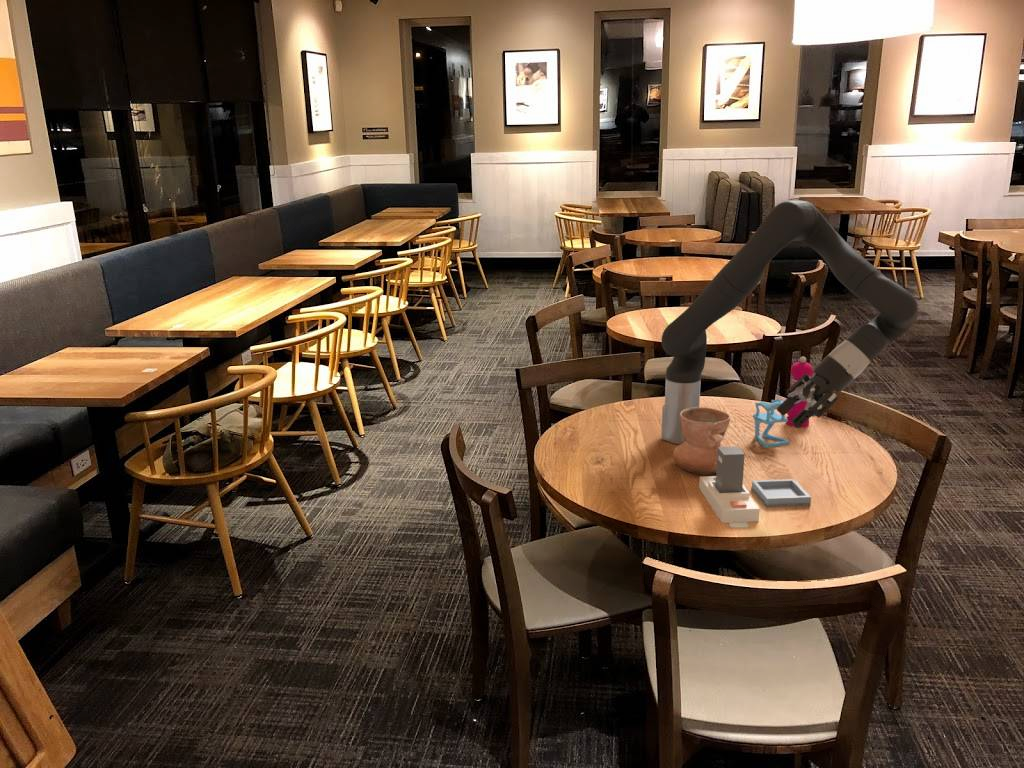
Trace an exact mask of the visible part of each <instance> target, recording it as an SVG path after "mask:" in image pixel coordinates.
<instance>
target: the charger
mask: <svg viewBox="0 0 1024 768" xmlns="http://www.w3.org/2000/svg"><path fill="white" fill-rule="evenodd" d="M745 456H746V455H745V453H744V452H743V450H742V449H741V448H740V447H739V446H737V445H735V446H725V447H718V451H717V468H716V473H715V476H716V485H715V488H716V489H717V490H718V492H719V493H737V492H742V485H744V484H743V482H744V468H745Z"/></svg>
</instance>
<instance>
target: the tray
mask: <svg viewBox="0 0 1024 768" xmlns="http://www.w3.org/2000/svg"><path fill="white" fill-rule="evenodd" d="M751 490H752V491H753V492H754V494H756V496H757V497H758V499H760V501H761V502H762V504H764V506H765V507H766V508H773V507H774V508H775V507H776V508H777V507H795V506H797V507H800V506H801V507H802V506H811V503H812V496H811V495H810V494H809V493H808V492H807V491H806V490H805V489H804V487H803V486H801V485H800V484H799V482H797V480H796V479H794V478H786V479H783V478H782V479H763V480H758V479H757V480H752V481H751Z"/></svg>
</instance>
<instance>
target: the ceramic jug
mask: <svg viewBox="0 0 1024 768" xmlns="http://www.w3.org/2000/svg"><path fill="white" fill-rule="evenodd" d="M680 421H681V426H682V432H683V438H684V443H682V444H678V445H677V446H676V447H675V449H674V450H673V453H672V457H673V458H672V459H673V460H674V462H675V464H676V465H677V466H679V468H681V469H683V470H684V471H687V472H691V473H695V474H703V475H710V474H716V468H717V451H718V447H726V446H725V445H723V444H722V443H721V442H722V441H723V440H724V439H725V438H724V437H725V435H726V432H727V431H728V428H729V425H730V423H731V422H730V421H731V416H730V414H729V413H727V412H726V411H724V410H723V411H722V410H719V409H716V408H711V407H710V408H709V407H705V406H704V407H703V406H699V407H692V408H688V409H684V410H682V411H681V412H680Z"/></svg>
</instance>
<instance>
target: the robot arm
mask: <svg viewBox="0 0 1024 768" xmlns="http://www.w3.org/2000/svg"><path fill="white" fill-rule="evenodd" d="M798 241H799V242H801V243H802V244H805V245H807V246H808V247H809V248H811V249H812V250H814V251H815V252H816V253H817V254H818V255H820V257H822V259H823V260H824V262H825V263H826V265H827V266H828V268H829V269H830V271H831V272H832V274H833V275H834V277H835V278H836V279H837V280H838V281H839V282H840V283H841V285H843V286H844V287H845V288H846V289H847V290H848V291H850V293H852V294H853V295H855V296H856V298H858V299H859V300H860V301H863V302H867V303H868V304H870V305H871V306H872V307H873V308H874V309H875V310H877V312H878V314H876V316H874V318H872V319H871V320H870V321H869V322H868V323H863V324H862V325H860V326H859V327H857V328H856V329H855V330H854V331H853V332H852V333H851V334H850V335H849V336H848V337H847V338H846V339H845V340H844V341H842V342H841V343H840V344H837V346H835V348H834V349H832V350H831V352H829V354H827V355H825V357H824V358H823V359H822V360H821V361H820V362H818V364H817V365H816V366H814V367H813V373H815V375H814V376H813V377H809V376H808V375H807V374H805V375H804V376H802V377H801V378H800V379H799V380H798V381H797V382H796V383H795V384H794V385H793V384H792V385H791V386H790V387H789V388H787V391H786V393H787V398H786V399H785V400H783V403H782V404H781V405H780V406H779V407H778V408H777V409H776V411H777V412H778V414H779V415H781V414H782V415H785V416H786V415H787V412H788V411H789V410H790V409H791V408H792V407H794V406H795V404H796V403H798V402H801V401H807V405H806V407H805V410H804V409H803V410H802V411H801V412H800V413H799V414H798V415H797V416H796V417H794V418H793V419H792V421H791V422H792V423H793V424H794V425H795V426H796V427H797V428H796V427H795V428H796V429H799V428H800V427H801V426H802V425H803V424H804V423H805V422H806V421H807V420H808V419H809V420H810V418H814V417H817V418H821V417H822V416H823V415H824V414H825V413H826V412H828V410H829V409H830V408H831V407H832V406H833V405H834V404H835V403H836V402H837V401H838V400H839V396H838V395H837V394H838V393H842V392H843V390H844V389H846V388H847V387H848V386H849V385H850V384H851V383H853V381H854V380H855V379H857V377H858V376H859V375H860V374H862V372H863V371H864V370H865V369H866V368H867V367H868V365H869V364H870V363H871V362H872V361H873V360H875V358H877V357H878V355H880V354H881V353H882V352H883V351H884V349H885V348H886V347H887V346H889V345H890V344H892V343H893V342H894V341H896V340H897V339H899V338H900V337H901V336H903V335H904V334H905V333H907V331H908V330H910V329H911V328H912V326H913V325H914V324H915V323H916V321H917V318H918V314H919V313H918V311H919V310H918V307H919V305H918V302H917V299H916V298H915V297H914V296H913V294H912V293H910V292H909V291H908V290H907V289H905V288H904V287H902V286H901V285H900V284H898V283H896V282H895V281H893V280H892V279H890V278H888V277H886V276H885V275H884V274H883V273H882V272H881V271H880V270H879V269H878V268H876V267H875V266H874V265H873V264H872V263H871V262H869V261H868V260H867V258H864V256H862V255H861V254H859V252H857V250H855V249H854V247H852V246H851V245H850V244H849V243H848V242H847V241H845V239H844V238H843V237H842V236H841V235H840V234H839V233H838V232H837V231H836V230H835V229H834V227H833V226H832V225H831V224H830V223H829V222H828V220H827V219H826V218H825V216H824V215H823V214H822V213H821V212H820V211H819V209H818V208H817V207H816V206H815V205H814V204H813V203H811V202H809V201H806V200H800V199H799V200H785V201H782V202H780V203H778V204H777V205H775V206H774V207H773V208H772V209H771V210H770V212H768V213H767V216H766V217H765V219H763V221H762V222H761V224H760V225H759V227H758V228H757V229H756V231H755V232H754V233H753V234H752V236H750V238H749V240H747V242H746V243H745V244H744V245H743V246H742V247H741V248H739V250H738V251H737V252H736V254H735V255H734V256H733V257H732V258H731V259H730V260H729V261H728V262H726V264H725V265H724V266H723V267H722V268H721V269H720V270H719V272H718V273H717V274H716V275H715V276H714V277H713V278H712V279H711V281H710V282H709V283H708V284H707V285H706V287H704V289H703V290H702V291H701V292H700V294H699V295H698V296H697V297H696V298H695V299H694V300H693V301H692V303H691V305H689V306H688V307H687V308H686V309H685V310H684V311H683V312H682V313H681V314H680V315H679V316H677V317H676V318H674V320H672V321H671V322H670V323H669V324H668V325H667V326H666V328H665V329H664V330H663V332H662V335H661V347H662V349H663V350H664V352H665V353H666V354H667V355H669V356H670V357H673V358H672V360H671V362H670V364H668V366H667V367H666V369H665V370H666V371H665V388H664V389H665V391H664V404H663V406H662V410H661V435H660V436H661V437H660V438H661V439H660V440H664V441H666V442H668V443H672V444H674V445H675V444H676V445H680V444H682V443H684V438H683V432H682V426H681V421H680V412H681V411H682V410H684V409H688V408H692V407H699V408H700V401H701V399H700V398H701V381H702V379H701V378H702V373H703V371H704V368H705V364H706V355H707V354H706V353H707V345H708V343H707V342H708V337H707V330H708V328H710V326H712V325H714V323H716V322H717V321H719V320H720V319H722V318H723V317H725V316H726V315H728V314H730V312H732V311H733V310H735V309H736V308H737V307H738V306H740V305H741V304H742V302H743V301H745V300H746V298H748V296H750V294H751V293H752V292H753V291H754V290H755V289H756V288H757V287H758V286H759V284H760V281H761V280H762V278H763V275H764V274H765V271H766V268H767V267H768V265H769V263H770V262H771V261H772V259H774V257H776V256H777V254H778V253H779V252H781V251H782V250H783V249H784V248H785V247H786V246H787V245H789V244H790V243H792V242H798ZM802 384H803V385H802ZM795 389H796V391H793V390H795ZM835 392H836V393H837V394H836V393H835ZM798 396H799V397H798ZM797 397H798V398H797ZM794 403H795V404H794ZM811 406H812V407H811ZM800 429H801V428H800Z"/></svg>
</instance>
